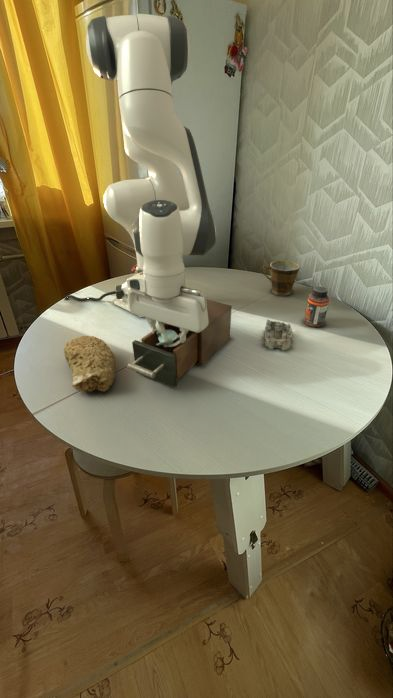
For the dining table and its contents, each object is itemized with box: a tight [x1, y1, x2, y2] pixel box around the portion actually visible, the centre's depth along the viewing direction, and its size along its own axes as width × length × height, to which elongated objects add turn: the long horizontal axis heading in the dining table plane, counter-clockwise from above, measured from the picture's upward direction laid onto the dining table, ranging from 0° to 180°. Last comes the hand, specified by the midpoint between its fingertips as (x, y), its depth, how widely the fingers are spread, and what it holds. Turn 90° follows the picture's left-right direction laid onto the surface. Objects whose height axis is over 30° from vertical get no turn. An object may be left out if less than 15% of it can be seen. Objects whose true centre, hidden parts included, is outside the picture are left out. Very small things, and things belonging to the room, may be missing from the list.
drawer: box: [127, 323, 199, 388], centre depth 85 cm, size 19×11×9 cm, turn 148°
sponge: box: [63, 335, 116, 393], centre depth 87 cm, size 13×8×20 cm
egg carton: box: [263, 319, 293, 351], centre depth 99 cm, size 11×8×4 cm
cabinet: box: [161, 298, 233, 367], centre depth 95 cm, size 16×13×11 cm
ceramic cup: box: [260, 259, 301, 297], centre depth 124 cm, size 13×10×10 cm
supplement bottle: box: [303, 286, 330, 328], centre depth 105 cm, size 6×6×11 cm
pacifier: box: [156, 321, 181, 347], centre depth 82 cm, size 7×6×6 cm
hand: (169, 337), depth 84 cm, fingers closed on pacifier, 6 cm apart
